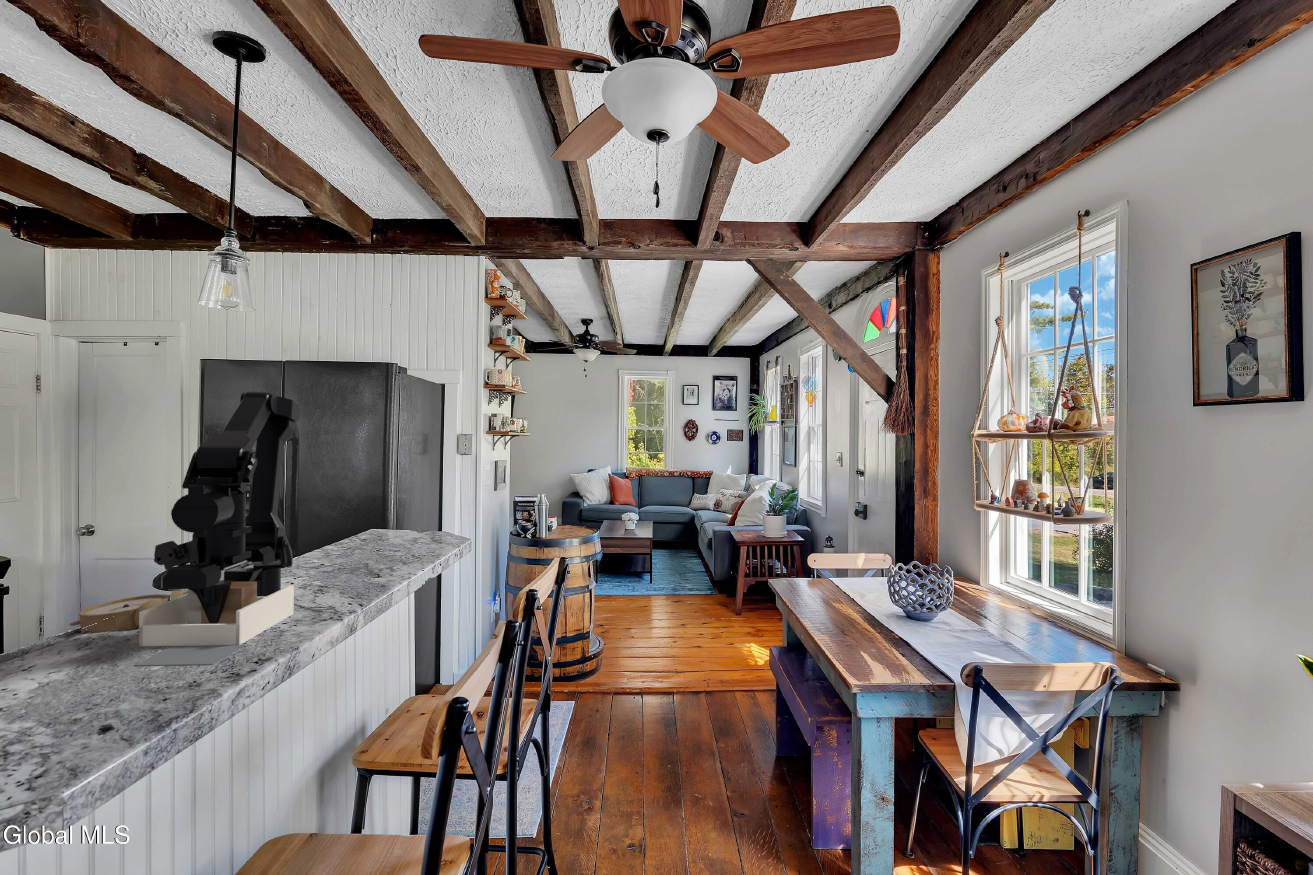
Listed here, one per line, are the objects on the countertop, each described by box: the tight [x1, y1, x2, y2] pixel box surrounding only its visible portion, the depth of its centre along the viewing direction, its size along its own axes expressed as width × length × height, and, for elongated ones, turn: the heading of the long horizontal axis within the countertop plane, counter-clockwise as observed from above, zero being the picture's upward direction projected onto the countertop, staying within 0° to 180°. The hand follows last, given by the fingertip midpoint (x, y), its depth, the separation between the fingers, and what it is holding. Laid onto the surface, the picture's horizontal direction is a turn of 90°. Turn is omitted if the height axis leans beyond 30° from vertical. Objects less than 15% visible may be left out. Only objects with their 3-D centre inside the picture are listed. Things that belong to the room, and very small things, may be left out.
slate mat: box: [133, 644, 245, 667], centre depth 82 cm, size 7×10×1 cm
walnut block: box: [187, 582, 257, 624], centre depth 94 cm, size 4×8×7 cm, turn 95°
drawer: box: [138, 584, 295, 647], centre depth 94 cm, size 15×14×6 cm
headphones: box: [69, 590, 185, 634], centre depth 97 cm, size 11×5×15 cm
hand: (222, 618), depth 94 cm, fingers closed on walnut block, 4 cm apart
